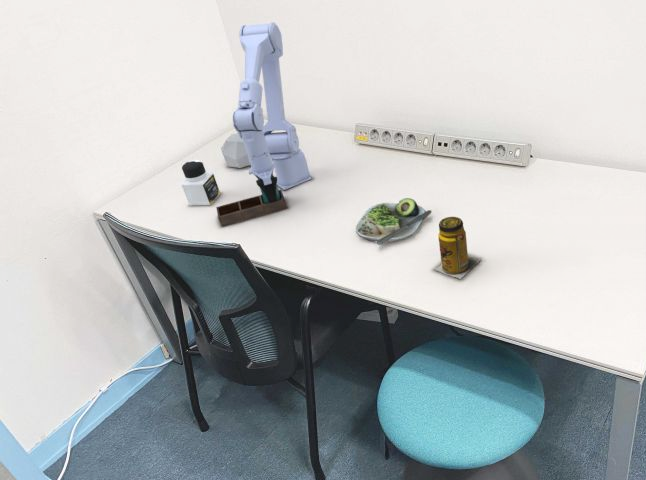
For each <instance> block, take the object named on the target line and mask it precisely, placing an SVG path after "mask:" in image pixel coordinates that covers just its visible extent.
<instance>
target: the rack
mask: <svg viewBox="0 0 646 480" xmlns="http://www.w3.org/2000/svg"><path fill="white" fill-rule="evenodd" d="M282 190H283V189H278V191H279V195H280V198H281V200H277V201H274V202H270V203H266V204H265V203H264V200H263V196H262V194H259V195H256V196H252V197H247V198H245V199H240V200H237V201H233V202H229V203H226V204H223V205H219V206H216V207H215V208H216V213H217V218H218V222H219V224H220V227H222V228H223V227H226V226H229V225H230V226H231V225H233V224H236V223H240V222H245V221H248V220H251V219H254V218H258V217H262V216H265V215H269V214H273V213H276V212H280V211H284V210H286V209H288V205H287V202H286V198H285V195H284V192H283V191H282Z"/></svg>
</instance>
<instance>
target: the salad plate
mask: <svg viewBox="0 0 646 480" xmlns="http://www.w3.org/2000/svg"><path fill="white" fill-rule="evenodd" d="M398 202H399V203H397V202H395V203H394V202H381V203H376V204H374V205H371V206H370V207H369V208H368V209H367V210H366V211H365V212H364V214H362V217H361V218H360V220H359V221H358V222H357V224H356V226H355V232H356V234H357V235H358V236H359V237H361V238H363V239H365V240H368V241H370V242H376V245H379V246H381V245H384V244H386V243H391V242H394V241H398V240H399V241H400V240H403V239H405V238H408V237H411V236H413V235H414V234H415V232H416V231H417V230H418V229H419V227H420V225H421V224H422V222H423V221H424V220H425V219H426V218H428V216H430V215H431V214H432V210H429V209H428V210H425V209H424V208H423V207H422V206H420V205H418V204H417V202H416V200H414V199H413V198H410V197H405V198H402V199H400V200H399V201H398Z"/></svg>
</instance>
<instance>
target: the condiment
mask: <svg viewBox="0 0 646 480" xmlns="http://www.w3.org/2000/svg"><path fill="white" fill-rule="evenodd" d="M464 227H465V226H464V222H463V220H462V218H460V217H457V216H447V217H444V218H442V219H441V220H440V221H439V223H438V234H437V235H438V245H439V252H440V262H441V264H440V265H438V266H437V267H436V268H434V270H433V271H437V272H438V273H442V274H445V275H447V276H450V277H453V278H456V279H459V280H462V278H464V277H465V276H466V275H467V274H469V272H470V271H471V270H472V269H473V268H474V267H475V266H477V265H478V263H479V262H480V261H482V258H478V257H475V256H472V255H469V254H468V243H467V242H468V241H467V232H466V230H465V228H464Z"/></svg>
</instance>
